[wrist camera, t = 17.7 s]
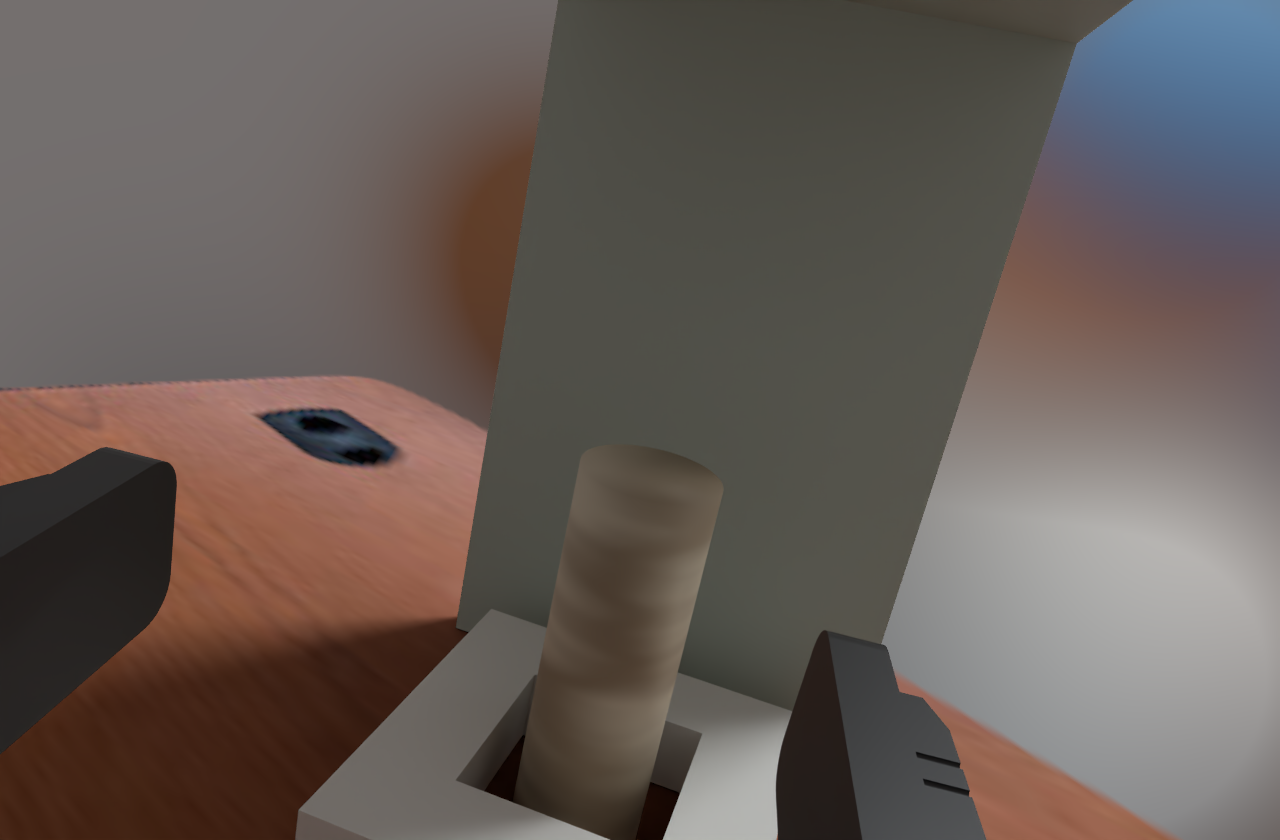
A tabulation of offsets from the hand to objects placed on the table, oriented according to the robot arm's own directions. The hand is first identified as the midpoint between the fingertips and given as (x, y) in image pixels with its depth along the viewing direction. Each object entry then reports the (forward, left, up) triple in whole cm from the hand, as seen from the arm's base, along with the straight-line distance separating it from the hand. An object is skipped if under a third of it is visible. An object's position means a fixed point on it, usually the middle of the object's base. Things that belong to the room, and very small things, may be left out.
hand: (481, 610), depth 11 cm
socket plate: (-1, +14, -15) cm, 21 cm away
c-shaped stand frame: (-1, +14, -15) cm, 21 cm away
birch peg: (-1, +14, -15) cm, 21 cm away
